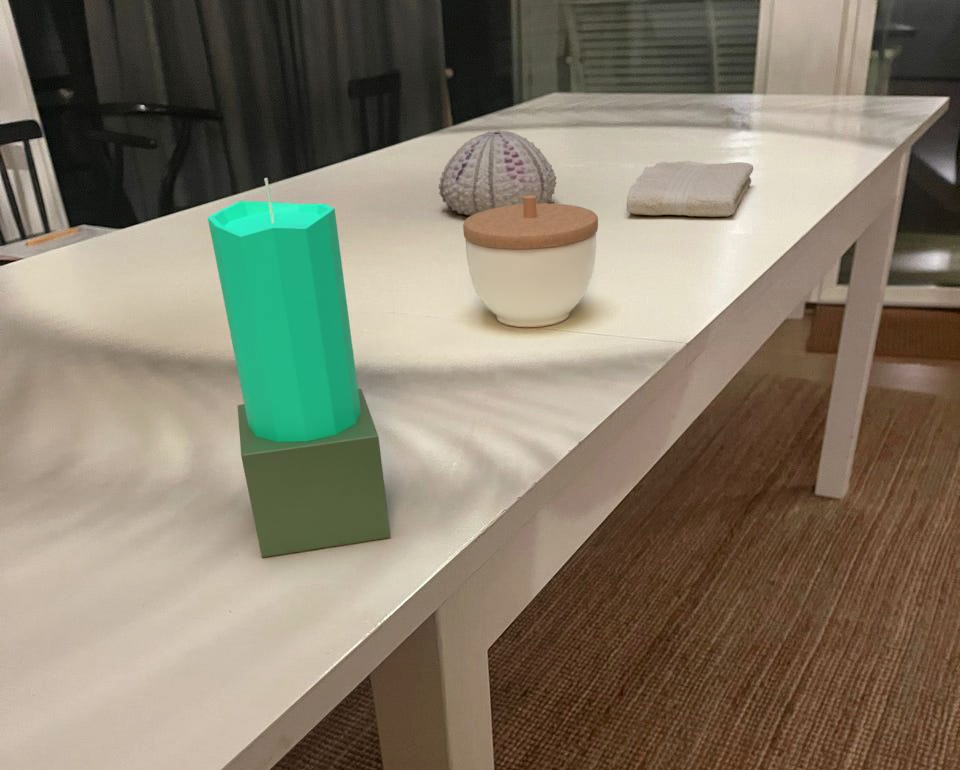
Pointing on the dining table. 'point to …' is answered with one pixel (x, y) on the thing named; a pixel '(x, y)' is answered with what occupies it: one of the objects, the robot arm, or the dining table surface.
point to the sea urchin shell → (495, 174)
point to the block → (316, 488)
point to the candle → (287, 317)
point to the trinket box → (531, 260)
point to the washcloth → (689, 189)
